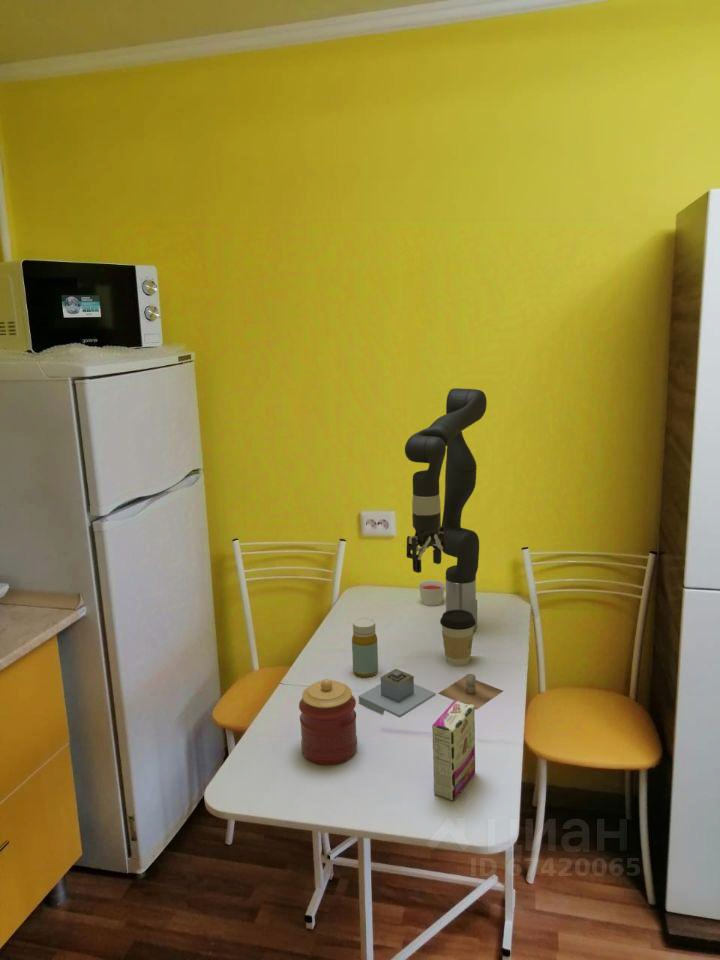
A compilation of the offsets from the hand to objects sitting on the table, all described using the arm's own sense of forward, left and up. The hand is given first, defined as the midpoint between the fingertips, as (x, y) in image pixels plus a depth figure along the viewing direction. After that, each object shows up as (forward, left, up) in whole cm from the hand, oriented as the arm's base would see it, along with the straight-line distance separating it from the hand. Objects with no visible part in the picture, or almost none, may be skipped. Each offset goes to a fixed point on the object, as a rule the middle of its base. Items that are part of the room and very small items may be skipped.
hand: (427, 567), depth 196 cm
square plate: (+19, +5, -30) cm, 36 cm away
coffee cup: (-7, +5, -30) cm, 31 cm away
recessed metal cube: (+19, +5, -28) cm, 34 cm away
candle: (-38, -29, -30) cm, 57 cm away
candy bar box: (+36, +36, -30) cm, 59 cm away
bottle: (+13, -12, -30) cm, 35 cm away
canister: (+45, +7, -30) cm, 55 cm away
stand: (+5, +18, -30) cm, 35 cm away
